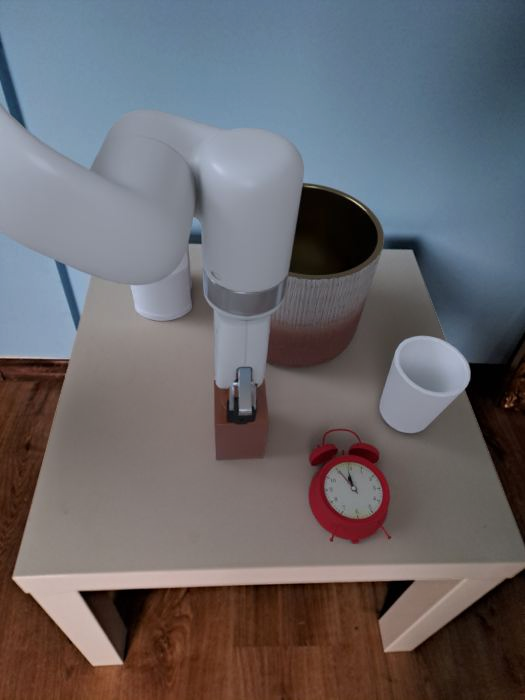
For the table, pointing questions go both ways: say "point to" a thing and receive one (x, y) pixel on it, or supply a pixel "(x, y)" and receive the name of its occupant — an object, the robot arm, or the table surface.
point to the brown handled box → (240, 427)
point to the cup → (422, 383)
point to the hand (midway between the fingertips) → (238, 384)
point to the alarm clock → (349, 491)
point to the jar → (166, 294)
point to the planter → (325, 278)
